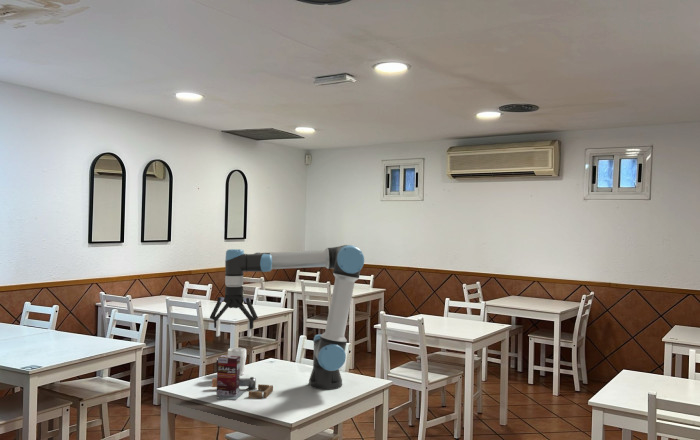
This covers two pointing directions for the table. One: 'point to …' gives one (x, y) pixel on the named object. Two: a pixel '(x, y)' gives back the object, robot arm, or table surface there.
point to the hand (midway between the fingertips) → (233, 336)
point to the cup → (242, 354)
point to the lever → (241, 382)
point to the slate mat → (231, 396)
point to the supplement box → (228, 375)
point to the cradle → (266, 393)
